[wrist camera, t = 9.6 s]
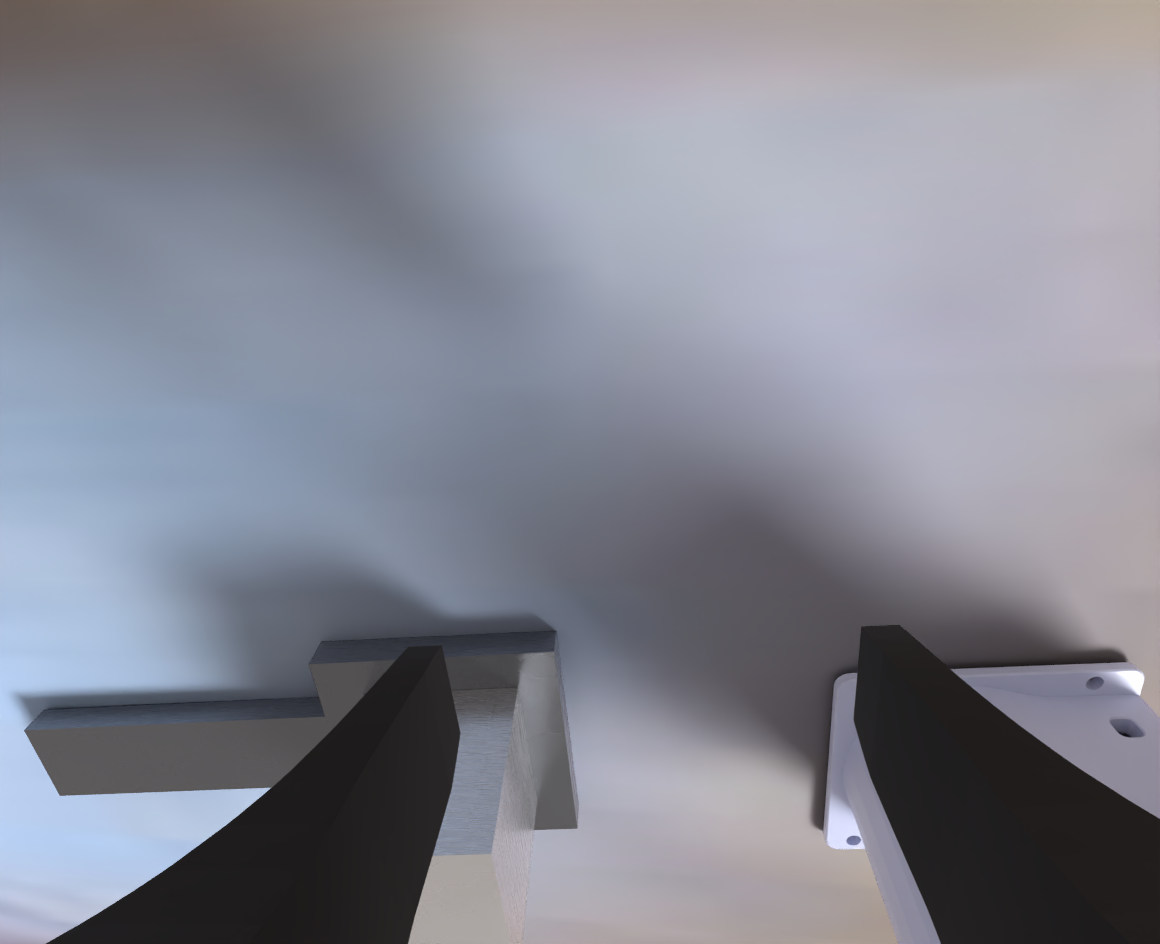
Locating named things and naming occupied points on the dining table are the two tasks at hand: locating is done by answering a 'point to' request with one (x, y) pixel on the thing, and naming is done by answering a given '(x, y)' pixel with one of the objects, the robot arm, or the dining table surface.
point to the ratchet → (304, 724)
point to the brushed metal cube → (482, 829)
